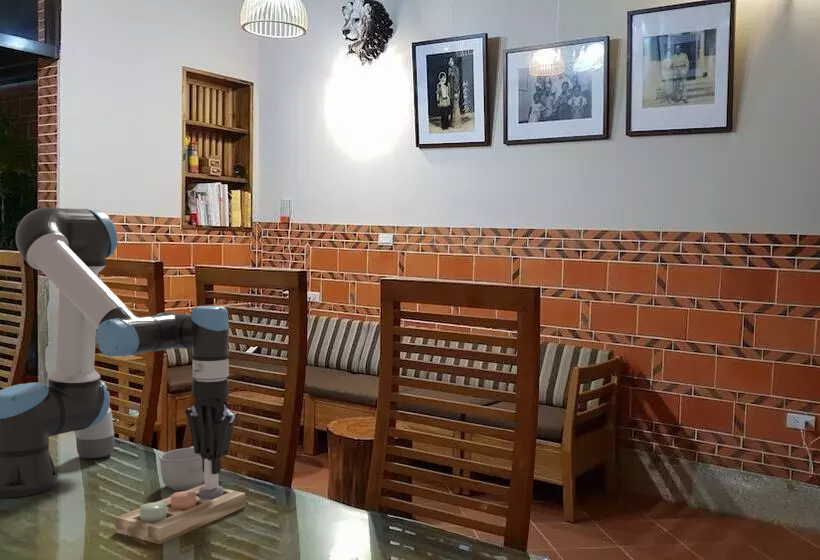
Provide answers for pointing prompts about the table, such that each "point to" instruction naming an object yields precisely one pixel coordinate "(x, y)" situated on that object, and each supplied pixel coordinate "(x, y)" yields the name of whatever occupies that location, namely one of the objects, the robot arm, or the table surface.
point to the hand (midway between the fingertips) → (211, 487)
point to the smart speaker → (96, 439)
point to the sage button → (153, 512)
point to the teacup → (182, 469)
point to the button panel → (180, 517)
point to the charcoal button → (211, 492)
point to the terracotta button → (183, 500)
